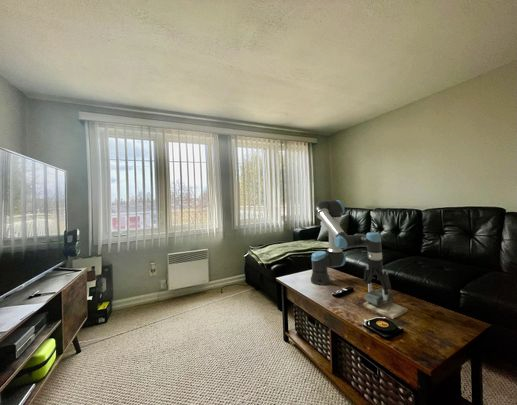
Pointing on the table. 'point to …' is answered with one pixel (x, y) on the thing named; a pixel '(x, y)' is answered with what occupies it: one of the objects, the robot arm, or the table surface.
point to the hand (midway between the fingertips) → (377, 297)
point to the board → (387, 309)
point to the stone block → (378, 297)
